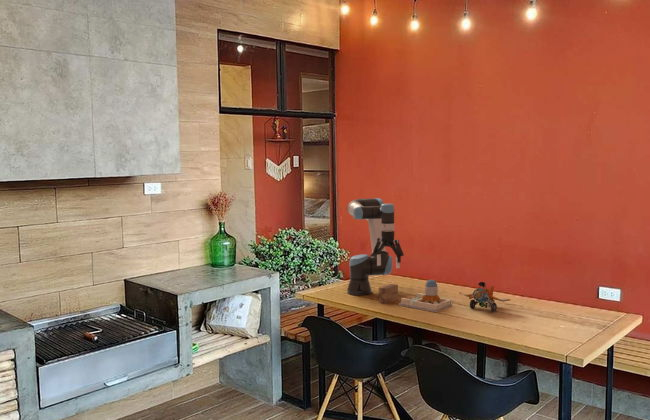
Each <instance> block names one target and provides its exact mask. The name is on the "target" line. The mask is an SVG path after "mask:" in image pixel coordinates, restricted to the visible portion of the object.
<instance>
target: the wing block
mask: <svg viewBox="0 0 650 420" xmlns="http://www.w3.org/2000/svg"><path fill="white" fill-rule="evenodd" d="M398 300H399V285H398V284H394V283H389V284H385V285H383V286H379V287H378V303H379V304H384V305H387V304H390V303H392V302H395V301H398Z"/></svg>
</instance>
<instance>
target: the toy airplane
mask: <svg viewBox="0 0 650 420" xmlns="http://www.w3.org/2000/svg"><path fill="white" fill-rule="evenodd" d="M494 288H495V287H494V285H492V286H490V289H488V288H487V287H486V282H484V281H480V282H478V288H476V289H474V291H473V292H472V293H468V294H466V293H463V292H460V291H459V292H458V294H461V295H462V296H464V297H468V299H469V300H470V301H469V308H470V309H472V310H473V309H476V308H475V307H476V306H477V304H478V306H479V307H480V308H484V309H488V307H489V308H490V311H491V312H492V313H495V312H496V311H497V309H498V308H497V306H498V305H497V303H496V302H495V301H499V302H503V303H504V302H508V301H512V299H511V298H510V299H509V298H508V299H507V298H504V299H501V298H498V297H495V296H494Z"/></svg>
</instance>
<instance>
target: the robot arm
mask: <svg viewBox="0 0 650 420" xmlns="http://www.w3.org/2000/svg"><path fill="white" fill-rule="evenodd" d="M346 209H347V210H346V211H347V213H348V214H349V215H350V216H353V219H354V220H366V221H367V223H368V230H369V231H368V232H369V236H370V246H371V247H370V248H371V253H370V255H368V254H366V253H365V254H363V253H362V254H355V255H353V256H351V257H350V258H349V264H348V265H349V283H348V286H347V291H346V292H347V294H349V295H351V296H364V295H365V296H366V295H370V294H371V293H372V291H373V289H372V287H371V283H370V279H369V276H387V275H388V276H389V275H390V274H391V273H392V270H393V256H392V255H389V254H390V253H389V252H388V251H387V250H386V247H388V248H391V249H392V251H393V252H394V254H395V269H400V268H401V261H402V260H401V259H402V257H403V256H405V254H404V252H403V250H402V247H401V245H400V239H395V205H394V204H393V203H384V201H383V199H381V198H376V197H373V198H372V197H371V198H356V199H353V200H351V201H350V202H349V203H348V204H347V206H346Z"/></svg>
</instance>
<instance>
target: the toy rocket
mask: <svg viewBox="0 0 650 420" xmlns="http://www.w3.org/2000/svg"><path fill="white" fill-rule="evenodd" d="M424 285H425V287H424V294H426V295H424V296H423V297H422V302H425V301H426V299H427V300H428V301H429V303H431V304H434V301H435V300H436V301H437V302H438V303H440V298H441V297H440V296H439V295H438V294H439V293H438V290H439V289H438V288H439V287H438V284H437V281H435V280H434V279H428V280H427V281H426V283H425V284H424Z"/></svg>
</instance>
